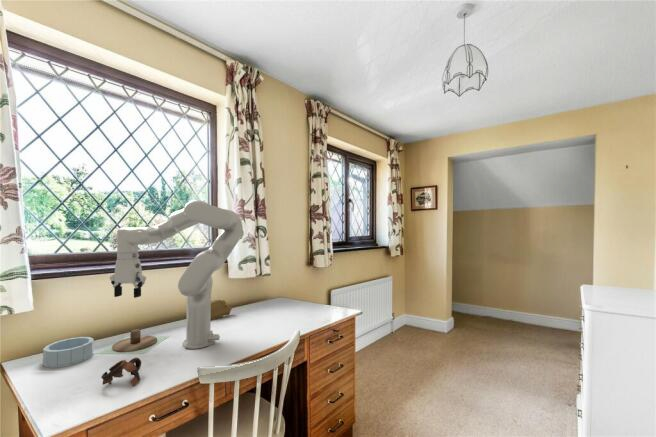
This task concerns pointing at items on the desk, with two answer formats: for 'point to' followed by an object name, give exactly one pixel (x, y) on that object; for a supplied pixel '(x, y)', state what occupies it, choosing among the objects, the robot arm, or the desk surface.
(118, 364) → the brown animal figurine
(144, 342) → the walnut lid
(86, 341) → the slate bowl
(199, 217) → the robot arm
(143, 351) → the sage mat
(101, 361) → the desk surface
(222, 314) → the wooden carving
